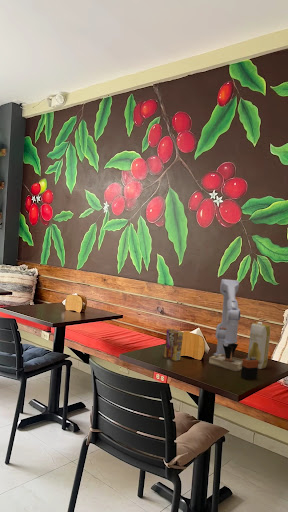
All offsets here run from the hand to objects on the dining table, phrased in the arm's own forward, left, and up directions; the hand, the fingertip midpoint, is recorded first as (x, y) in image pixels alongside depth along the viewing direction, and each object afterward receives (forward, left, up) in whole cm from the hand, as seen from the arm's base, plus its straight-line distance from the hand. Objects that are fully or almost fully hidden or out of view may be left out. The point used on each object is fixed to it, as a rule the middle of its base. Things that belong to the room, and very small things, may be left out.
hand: (229, 357), depth 221 cm
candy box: (+16, -25, -4) cm, 30 cm away
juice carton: (-13, +10, -4) cm, 17 cm away
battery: (+11, +17, -4) cm, 21 cm away
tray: (0, 0, -4) cm, 4 cm away
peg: (0, 0, -2) cm, 2 cm away
